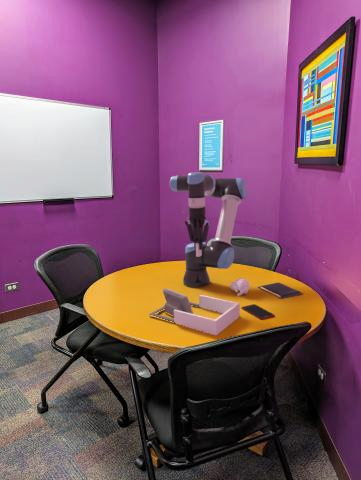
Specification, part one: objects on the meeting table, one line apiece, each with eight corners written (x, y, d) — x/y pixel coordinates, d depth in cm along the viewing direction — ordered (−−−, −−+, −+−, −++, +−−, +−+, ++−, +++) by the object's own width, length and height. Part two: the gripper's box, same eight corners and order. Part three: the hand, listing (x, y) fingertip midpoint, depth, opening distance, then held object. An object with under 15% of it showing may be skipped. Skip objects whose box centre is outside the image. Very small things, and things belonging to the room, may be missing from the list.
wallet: (304, 292, 172) (280, 296, 166) (304, 295, 172) (280, 300, 167) (279, 280, 190) (256, 284, 185) (279, 283, 191) (256, 288, 185)
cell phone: (254, 305, 161) (254, 303, 160) (275, 317, 148) (275, 315, 147) (240, 309, 157) (240, 307, 157) (261, 321, 144) (261, 318, 144)
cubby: (174, 323, 143) (173, 310, 142) (200, 306, 160) (200, 294, 159) (215, 335, 132) (215, 321, 131) (239, 316, 149) (239, 303, 148)
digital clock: (195, 318, 149) (194, 294, 146) (176, 322, 144) (176, 299, 142) (177, 305, 162) (176, 284, 160) (160, 309, 158) (159, 288, 156)
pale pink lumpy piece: (240, 280, 169) (226, 276, 180) (241, 297, 170) (227, 292, 181) (250, 278, 172) (235, 274, 182) (251, 294, 173) (236, 290, 183)
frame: (149, 316, 151) (149, 314, 151) (177, 301, 168) (177, 299, 168) (173, 323, 144) (173, 320, 144) (199, 306, 161) (199, 304, 160)
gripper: (180, 207, 157) (183, 256, 163) (205, 208, 150) (207, 259, 156) (189, 204, 163) (191, 252, 169) (213, 206, 156) (214, 255, 162)
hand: (198, 255), depth 162 cm, fingers closed
